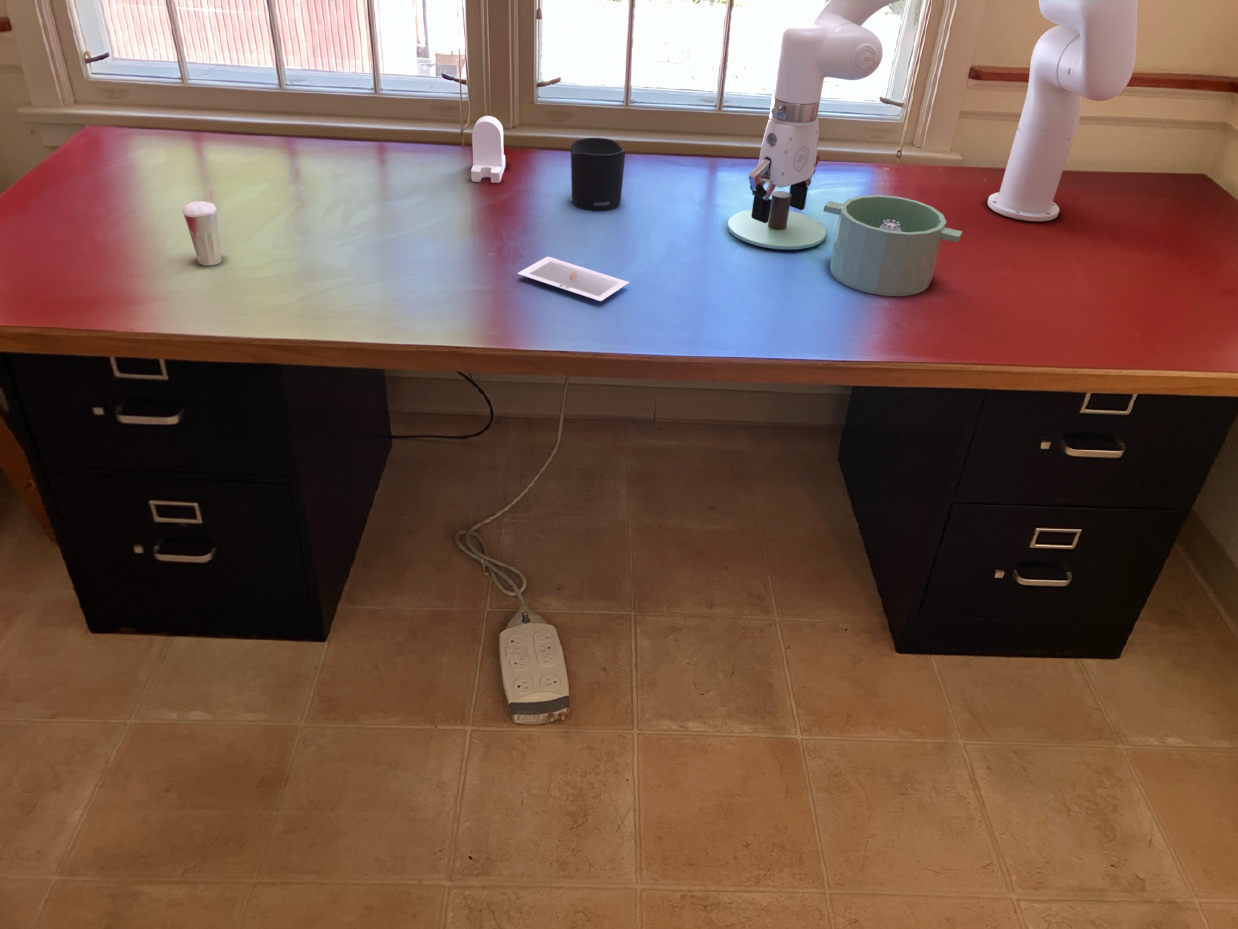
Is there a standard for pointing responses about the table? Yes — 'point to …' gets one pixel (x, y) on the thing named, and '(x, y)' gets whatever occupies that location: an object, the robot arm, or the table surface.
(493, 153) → the white phone stand
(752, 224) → the pot lid
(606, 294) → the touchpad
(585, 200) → the pen holder
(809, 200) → the table surface
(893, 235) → the pale green cooking pot
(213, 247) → the milkshake
